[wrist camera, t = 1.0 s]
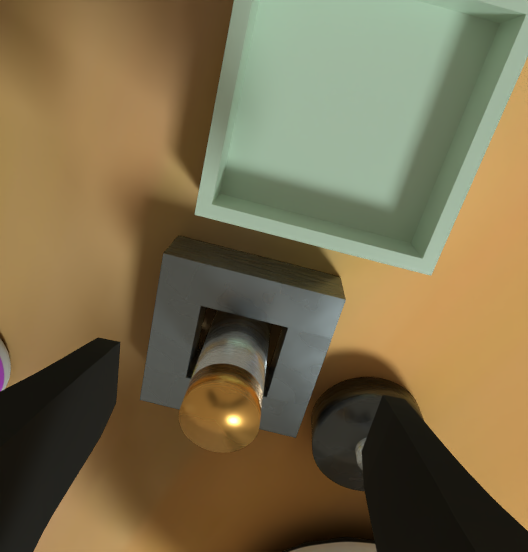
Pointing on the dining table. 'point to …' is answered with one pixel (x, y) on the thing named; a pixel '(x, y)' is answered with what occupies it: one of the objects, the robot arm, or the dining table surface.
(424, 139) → the tray
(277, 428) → the block
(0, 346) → the supplement bottle
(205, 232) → the dining table surface
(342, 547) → the white rounded piece
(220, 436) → the pin
